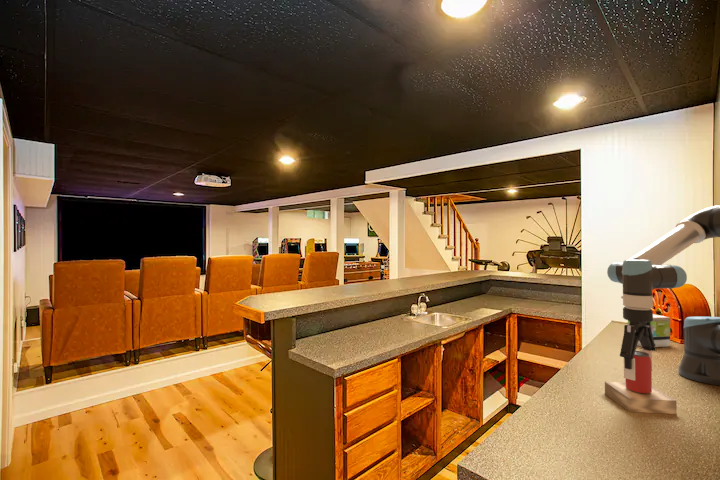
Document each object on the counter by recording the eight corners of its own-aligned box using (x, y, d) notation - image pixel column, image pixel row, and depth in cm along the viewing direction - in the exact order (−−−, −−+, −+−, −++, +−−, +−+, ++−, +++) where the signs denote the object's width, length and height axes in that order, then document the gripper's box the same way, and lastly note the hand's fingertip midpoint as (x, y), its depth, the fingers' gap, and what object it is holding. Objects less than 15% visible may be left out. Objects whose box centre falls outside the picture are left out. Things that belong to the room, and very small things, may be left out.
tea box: (646, 348, 170) (646, 318, 170) (626, 342, 180) (626, 313, 180) (671, 346, 173) (670, 316, 173) (650, 341, 183) (650, 312, 183)
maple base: (646, 395, 118) (646, 383, 118) (676, 414, 105) (676, 400, 105) (604, 393, 119) (604, 381, 119) (629, 411, 106) (629, 398, 107)
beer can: (656, 395, 108) (656, 356, 108) (632, 394, 110) (632, 355, 110) (643, 387, 115) (643, 350, 115) (621, 385, 116) (621, 349, 116)
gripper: (638, 302, 122) (639, 363, 122) (606, 310, 109) (607, 379, 109) (666, 305, 116) (667, 369, 116) (635, 314, 103) (636, 387, 102)
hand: (638, 374), depth 112 cm, fingers open, 13 cm apart
